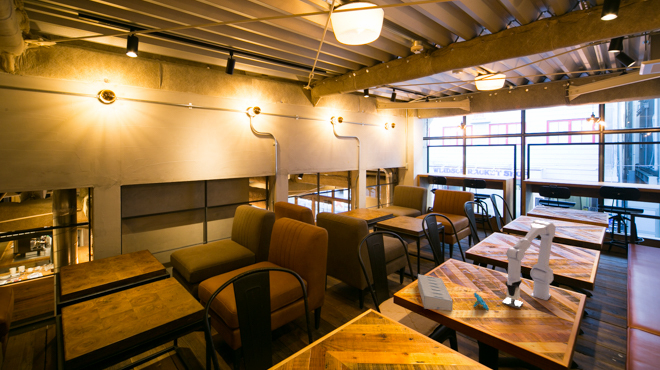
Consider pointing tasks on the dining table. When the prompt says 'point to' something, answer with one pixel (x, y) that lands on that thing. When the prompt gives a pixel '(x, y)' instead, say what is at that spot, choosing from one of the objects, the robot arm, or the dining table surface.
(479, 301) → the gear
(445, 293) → the warehouse
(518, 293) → the square tube cup
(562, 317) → the dining table surface
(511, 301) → the shaft block
